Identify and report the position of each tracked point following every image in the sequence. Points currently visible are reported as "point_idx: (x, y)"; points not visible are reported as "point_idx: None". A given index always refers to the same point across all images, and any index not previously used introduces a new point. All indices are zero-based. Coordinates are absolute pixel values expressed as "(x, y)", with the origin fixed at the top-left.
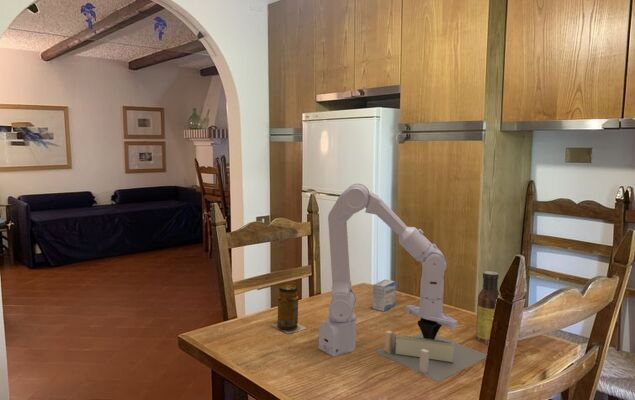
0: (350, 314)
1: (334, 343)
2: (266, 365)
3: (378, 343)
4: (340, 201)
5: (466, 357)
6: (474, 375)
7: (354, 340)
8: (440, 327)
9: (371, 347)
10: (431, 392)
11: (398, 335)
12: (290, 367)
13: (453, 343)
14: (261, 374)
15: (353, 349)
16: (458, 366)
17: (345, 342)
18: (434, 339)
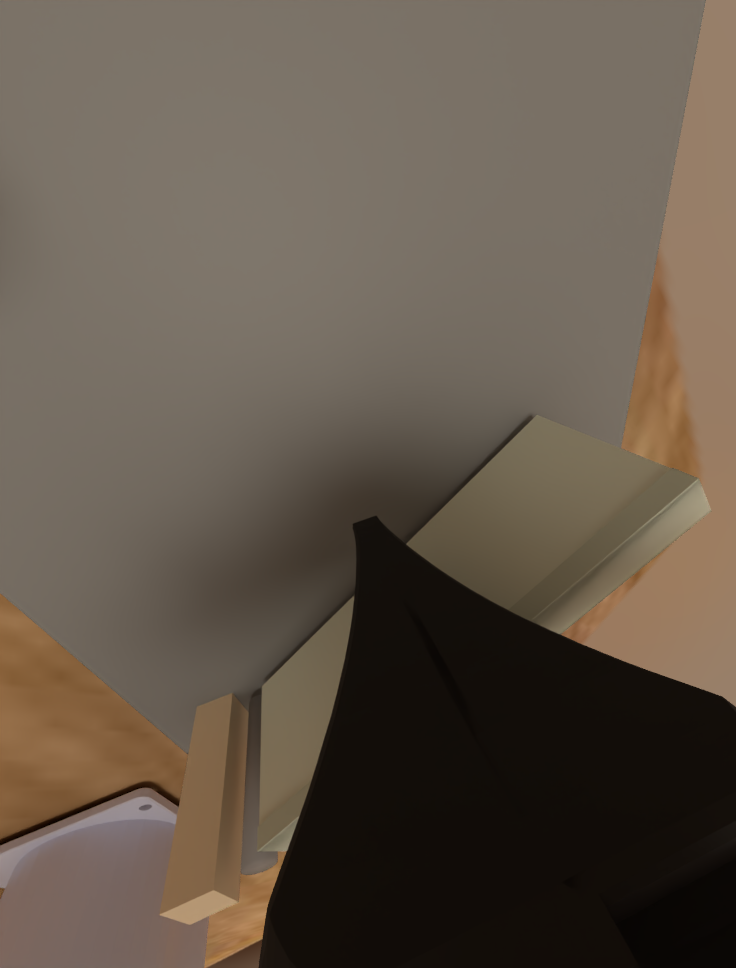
0: None
1: (204, 959)
2: (209, 938)
3: (19, 713)
4: None
5: (565, 230)
6: (667, 374)
7: (137, 903)
8: (607, 656)
9: (97, 747)
10: (587, 627)
11: (278, 844)
12: (241, 903)
13: (700, 499)
14: (262, 927)
15: (163, 832)
16: (591, 427)
17: (176, 927)
18: (412, 549)
